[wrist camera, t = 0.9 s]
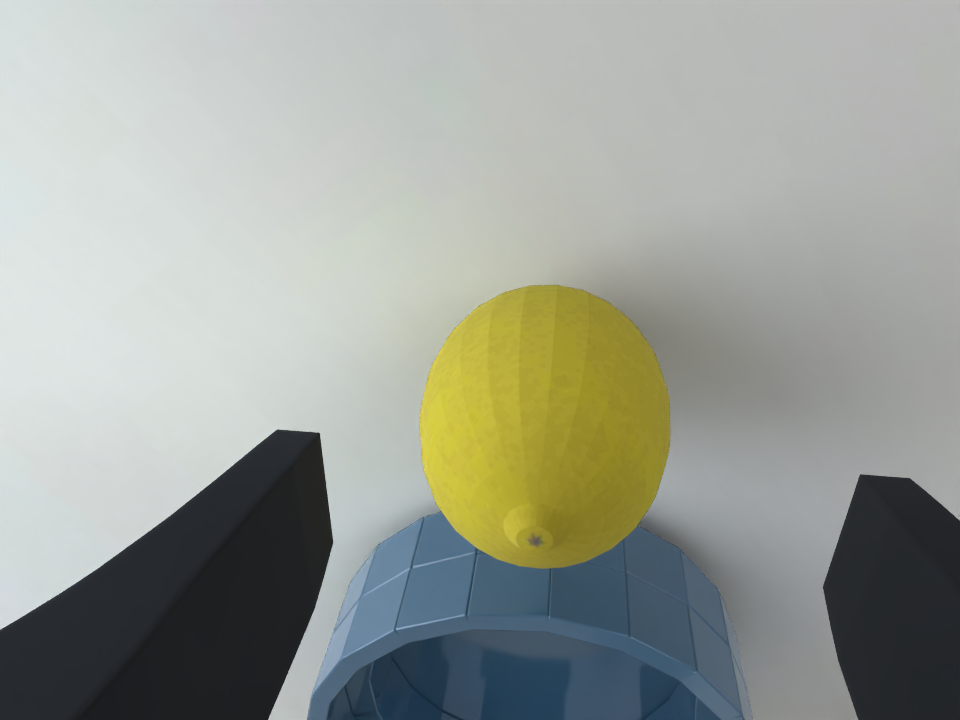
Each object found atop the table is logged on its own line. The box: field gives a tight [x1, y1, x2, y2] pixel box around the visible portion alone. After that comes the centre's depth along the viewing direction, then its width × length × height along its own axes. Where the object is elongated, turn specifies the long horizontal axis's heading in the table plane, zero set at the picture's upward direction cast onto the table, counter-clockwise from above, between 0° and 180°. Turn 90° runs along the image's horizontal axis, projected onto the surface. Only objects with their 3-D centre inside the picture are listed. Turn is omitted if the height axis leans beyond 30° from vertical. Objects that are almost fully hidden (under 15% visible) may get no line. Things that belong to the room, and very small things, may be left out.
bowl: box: [307, 512, 753, 720], centre depth 25 cm, size 13×13×5 cm
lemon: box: [420, 285, 670, 569], centre depth 17 cm, size 6×6×8 cm
